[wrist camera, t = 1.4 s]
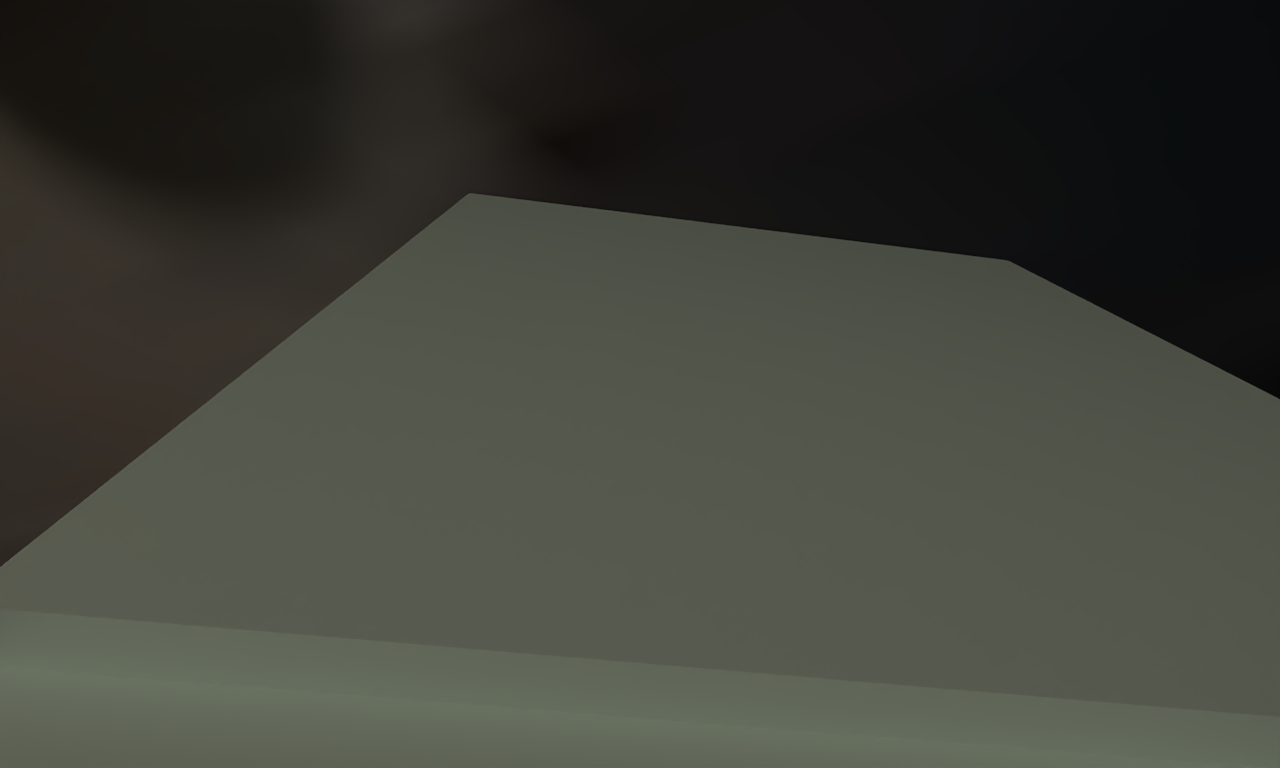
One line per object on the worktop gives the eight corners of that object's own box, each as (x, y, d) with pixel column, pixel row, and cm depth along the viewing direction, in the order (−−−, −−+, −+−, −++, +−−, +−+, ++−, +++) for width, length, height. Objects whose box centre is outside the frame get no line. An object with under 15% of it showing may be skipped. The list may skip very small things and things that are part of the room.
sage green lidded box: (877, 683, 13) (1262, 1633, 5) (441, 646, 13) (122, 1639, 5) (1025, 262, 10) (2615, 1045, 2) (450, 190, 10) (-508, 859, 1)
